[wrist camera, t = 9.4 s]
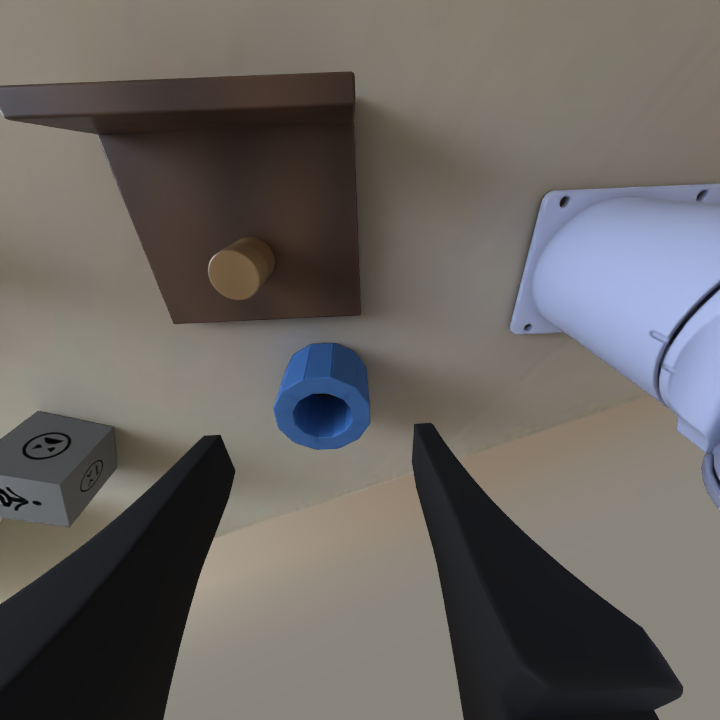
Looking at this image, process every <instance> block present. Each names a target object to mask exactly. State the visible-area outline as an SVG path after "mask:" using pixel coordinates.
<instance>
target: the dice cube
mask: <svg viewBox="0 0 720 720" xmlns="http://www.w3.org/2000/svg"><path fill="white" fill-rule="evenodd" d="M116 468H117V463H116V451H115V439H114V427H111V426H106V425H101V424H97V423H92V422H87V421H82V420H78V419H73V418H68V417H63V416H58V415H54V414H49V413H44V412H39V411H37V412H36V413H34V414H33V415H32V416H30V417H29V418H28V419H26V420H25V421H24V422H22V423H21V424H20V425H19V426H17V427H16V428H15V429H13V430H12V431H11V432H9V433H8V434H7V435H5V436H4V437H3V438H1V439H0V517H1V518H8V519H15V520H22V521H29V522H36V523H43V524H50V525H58V526H65V527H70V526H71V525H72V524H73V523H74V521H75V520H76V519H77V518H78V516H79V515H80V514H81V513H82V511H83V510H84V509H85V507H86V506H87V505H88V504H89V502H90V501H91V500H92V499H93V497H94V496H95V495H96V494H97V492H98V491H99V490H100V489H101V487H102V486H103V485H104V483H105V482H106V481H107V480H108V478H109V477H110V476H111V475H112V473H113V472H114V471H115V470H116Z"/></svg>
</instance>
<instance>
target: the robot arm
mask: <svg viewBox="0 0 720 720" xmlns="http://www.w3.org/2000/svg"><path fill="white" fill-rule="evenodd" d="M700 192H701V193H700ZM699 193H700V195H699V197H698V198H697V196H698V194H699ZM564 196H565V198H566V200H565V203H564V204H563V205H562V206H560V200H561V199H562V198H563V197H564ZM527 324H529V326H528V327H527V328H524V327H525V326H526V325H527ZM510 330H511V331H512V332H513V333H514V334H517V335H521V334H541V333H562V332H565V333H566V334H567V335H569V336H570V337H571V338H573V339H574V340H576V341H577V342H578V343H580V344H581V345H582V346H584V347H585V348H587V349H588V350H589V351H591V352H592V353H593V354H595V355H596V356H597V357H599V358H600V359H602V360H603V361H604V362H606V363H607V364H608V365H610V366H611V367H613V368H614V369H615V370H617V371H618V372H619V373H621V374H622V375H624V376H625V377H626V378H628V379H629V380H630V381H632V382H633V383H634V384H636V385H637V386H639V387H640V388H641V389H643V390H644V391H645V392H647V393H648V394H650V395H651V396H652V397H654V398H655V399H656V400H658V401H659V402H661V403H662V404H664V405H665V406H666V407H668V408H670V409H671V410H672V411H673V412H674V413H675V414H676V416H677V418H678V425H677V431H678V432H680V433H681V434H682V435H684V436H685V437H686V438H687V439H689V440H690V441H691V442H693V443H694V444H695V445H696V446H698V447H699V448H700V449H702V450H703V451H704V452H706V454H705V456H704V459H703V463H702V477H703V482H704V485H705V487H706V490H707V492H708V494H709V495H710V497H711V499H712V500H713V502H714V504H715V505H716V507H717V508H718V509H719V510H720V183H713V184H690V185H667V186H645V187H622V188H599V189H576V190H554V191H550V192H549V193H547V194H546V195H545V196H544V198H543V200H542V202H541V206H540V210H539V214H538V218H537V222H536V226H535V230H534V234H533V237H532V241H531V245H530V249H529V253H528V257H527V261H526V265H525V269H524V273H523V277H522V281H521V285H520V289H519V292H518V296H517V300H516V304H515V308H514V312H513V316H512V320H511V324H510ZM412 465H413V471H414V476H415V483H416V488H417V492H418V496H419V499H420V503H421V507H422V510H423V514H424V517H425V521H426V525H427V528H428V531H429V536H430V539H431V542H432V546H433V549H434V554H435V558H436V562H437V567H438V572H439V578H440V582H441V588H442V593H443V599H444V604H445V610H446V615H447V621H448V626H449V632H450V638H451V644H452V650H453V655H454V661H455V667H456V673H457V679H458V686H459V692H460V699H461V705H462V711H463V717H464V720H659V718H658V717H657V715H656V713H655V711H654V710H655V709H657V708H659V707H661V706H664V705H666V704H668V703H670V702H672V701H674V700H676V699H678V698H679V697H681V695H682V693H683V686H682V685H681V683H680V681H679V680H678V678H677V677H676V675H675V674H674V672H673V671H672V669H671V668H670V666H669V664H668V663H667V661H666V660H665V658H664V657H663V655H662V654H661V652H660V651H659V649H658V648H657V647H656V646H655V644H654V643H653V642H652V640H651V639H650V638H649V636H648V635H647V633H646V632H645V631H644V629H643V628H642V627H641V626H639V625H638V624H636V623H635V622H634V621H633V620H631V619H630V618H628V617H627V616H626V615H624V614H623V613H622V612H620V611H619V610H618V609H616V608H615V607H614V606H612V605H611V604H610V603H608V602H607V601H606V600H604V599H603V598H601V597H600V596H599V595H598V594H597V593H595V592H594V591H593V590H591V589H590V588H589V587H588V586H586V585H585V584H584V583H583V582H581V581H580V580H579V579H578V578H576V577H575V576H574V575H573V574H571V573H570V572H569V571H568V570H567V569H565V568H564V567H563V566H562V565H560V564H559V563H558V562H557V561H556V560H555V559H554V558H553V557H551V556H550V555H549V554H548V553H547V552H546V551H545V550H543V549H542V548H541V547H540V546H539V545H538V544H536V543H535V542H534V541H533V540H532V539H531V538H530V537H529V536H528V535H526V534H525V533H524V532H523V531H522V530H521V529H520V528H519V527H518V526H517V525H516V524H515V523H514V522H513V521H512V520H511V519H510V518H509V517H508V516H507V515H506V514H505V513H504V512H503V511H502V510H501V509H500V508H499V507H498V506H497V505H496V504H495V503H494V502H493V501H492V500H491V499H490V497H488V495H487V494H486V493H485V492H484V491H483V490H482V488H481V487H480V486H479V485H478V484H477V483H476V482H475V481H474V479H473V478H472V477H471V476H470V475H469V473H468V472H467V471H466V470H465V468H464V467H463V466H462V464H461V463H460V462H459V461H458V459H457V458H456V457H455V456H454V454H453V453H452V452H451V450H450V449H449V447H448V446H447V445H446V443H445V442H444V440H443V439H442V437H441V436H440V435H439V433H438V431H437V430H436V428H435V427H434V425H433V424H431V423H422V424H414V437H413V452H412ZM234 475H235V469H234V466H233V464H232V461H231V459H230V457H229V454H228V452H227V450H226V447H225V445H224V442H223V440H222V438H221V435H210V436H203V437H202V438H201V439H200V440H199V441H198V442H197V443H196V444H195V445H194V446H193V447H192V448H191V449H190V450H189V451H188V452H187V453H186V454H185V455H184V456H183V457H182V458H181V459H180V460H179V461H178V462H177V463H176V464H175V465H174V466H173V467H172V468H170V469H169V470H168V471H167V472H166V473H165V474H164V475H163V476H162V477H161V478H160V479H159V480H158V481H157V482H156V483H155V484H154V485H153V486H152V487H151V488H150V489H148V490H147V491H146V492H145V493H144V494H143V495H142V496H141V497H140V498H138V499H137V500H136V501H135V502H134V503H133V504H132V505H131V506H130V507H128V508H127V509H126V510H125V511H124V512H123V513H122V514H121V515H119V516H118V517H117V518H116V519H115V520H114V521H112V522H111V523H110V524H109V525H108V526H106V527H105V528H104V529H103V530H101V531H100V532H99V533H98V534H96V535H95V536H94V537H93V538H91V539H90V540H89V541H88V542H86V543H85V544H84V545H83V546H81V547H80V548H79V549H77V550H76V551H75V552H73V553H72V554H71V555H69V556H68V557H66V558H65V559H64V560H62V561H61V562H60V563H58V564H57V565H56V566H54V567H53V568H51V569H50V570H49V571H47V572H46V573H45V574H43V575H42V576H41V577H39V578H38V579H36V580H35V581H34V582H32V583H31V584H29V585H28V586H26V587H25V588H23V589H22V590H20V591H19V592H17V593H16V594H15V595H13V596H12V597H10V598H9V599H7V600H6V601H4V602H3V603H1V604H0V720H163V718H164V713H165V708H166V704H167V699H168V694H169V690H170V685H171V681H172V677H173V672H174V669H175V664H176V660H177V656H178V652H179V647H180V644H181V640H182V636H183V632H184V628H185V625H186V621H187V617H188V613H189V610H190V606H191V603H192V599H193V596H194V592H195V589H196V585H197V582H198V579H199V576H200V573H201V570H202V567H203V564H204V561H205V559H206V556H207V554H208V551H209V549H210V546H211V543H212V541H213V538H214V536H215V533H216V530H217V528H218V525H219V523H220V520H221V518H222V515H223V512H224V510H225V507H226V504H227V502H228V499H229V495H230V491H231V488H232V484H233V479H234Z"/></svg>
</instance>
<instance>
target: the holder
mask: <svg viewBox="0 0 720 720" xmlns="http://www.w3.org/2000/svg"><path fill="white" fill-rule="evenodd" d="M0 111H1V113H2V115H3V116H4V117H5V118H6V119H8V120H12V121H18V122H25V123H31V124H37V125H43V126H49V127H55V128H62V129H68V130H74V131H80V132H86V133H93V134H97V136H98V138H99V140H100V143H101V145H102V148H103V150H104V153H105V155H106V158H107V160H108V163H109V165H110V168H111V170H112V173H113V175H114V177H115V180H116V182H117V185H118V187H119V190H120V192H121V195H122V197H123V200H124V202H125V205H126V207H127V210H128V212H129V215H130V217H131V219H132V222H133V224H134V227H135V229H136V232H137V234H138V237H139V239H140V242H141V244H142V247H143V249H144V252H145V254H146V257H147V259H148V261H149V264H150V266H151V269H152V271H153V274H154V276H155V279H156V281H157V284H158V286H159V289H160V291H161V294H162V296H163V298H164V301H165V303H166V306H167V308H168V311H169V313H170V316H171V318H172V321H173V323H174V324H184V323H205V322H227V321H248V320H269V319H290V318H312V317H333V316H354V315H361V302H360V276H359V249H358V223H357V196H356V169H355V143H354V112H355V76H354V73H353V72H327V73H302V74H278V75H253V76H228V77H204V78H179V79H155V80H130V81H105V82H81V83H56V84H31V85H7V86H0Z"/></svg>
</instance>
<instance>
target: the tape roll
mask: <svg viewBox="0 0 720 720" xmlns="http://www.w3.org/2000/svg"><path fill="white" fill-rule="evenodd" d="M322 393H328V394H331V395H333V396H336V397H321V396H318V395H316V394H322ZM274 413H275V417H276V421H277V425H278V427H279V429H280V430H281V431H282V432H283V433H284V434H285V435H286V436H287V437H289V438H290V439H291V440H292V441H293V442H295V443H297V444H300V445H303V446H306V447H309V448H313V449H316V450H320V449H338V448H341V447H343V446H345V445H347V444H349V443H351V442H353V441H356V440H357V439H359V438H360V437H361V435H362V434H363V432H364V431H365V430H366V428H367V427H368V426H369V424H370V401H369V390H368V380H367V369H366V366H365V365H364V364H363V362H362V361H361V360H360V358H359V357H358V356H357V354H356V353H355V352H354V351H352V350H350V349H348V348H345V347H343V346H341V345H338V344H336V343H322V344H310V345H309V346H307V347H305V348H304V349H302V350H300V351H299V352H297V353H295V354H294V355H293V356H292V358H291V360H290V363H289V365H288V367H287V369H286V371H285V374H284V377H283V380H282V383H281V387H280V390H279V393H278V396H277V399H276V402H275V405H274Z"/></svg>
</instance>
